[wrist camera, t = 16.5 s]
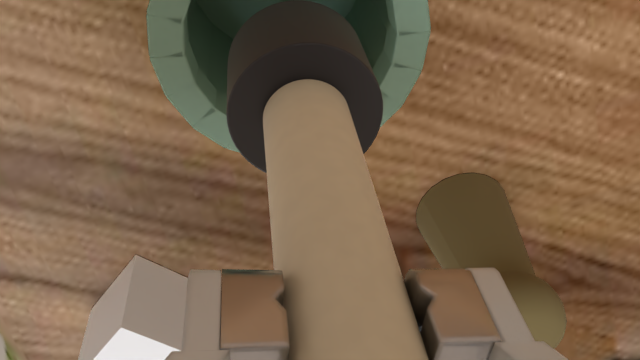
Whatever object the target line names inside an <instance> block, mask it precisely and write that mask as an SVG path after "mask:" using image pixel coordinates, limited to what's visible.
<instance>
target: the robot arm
mask: <svg viewBox="0 0 640 360" xmlns="http://www.w3.org/2000/svg"><path fill="white" fill-rule="evenodd" d="M404 283H405V286H406V290H407V293H408V296H409V299H410V302H411V305H412V309H413V312H414V315H415V318H416V321H417V324H418V327H419V331H420V334H421V337H422V340H423V343H424V346H425V349H426V353H427V356H428V359H429V360H568V359H567V358H565V357H564V356H563V355H561V354H560V353H559V352H557V351H556V350H555V349H553V348H552V347H551V346H549V345H548V344H547V343H545V342H544V341H535V340H534V338H533V336H532V334H531V332H530V330H529V328H528V327H527V325H526V323H525V321H524V319H523V317H522V315H521V313H520V311H519V309H518V307H517V305H516V303H515V301H514V300H513V298H512V296H511V294H510V292H509V290H508V288H507V286H506V284H505V282H504V280H503V278H502V276H501V275H500V273H499V271H498V270H496V269H495V268H466V269H463V268H448V269H409V271H408V272H407V274H406V276H405V280H404ZM284 288H285V287H284V278H283V272H282V270H231V269H222V287H221V270H195V269H190V272H189V275H188V282H187V293H186V305H185V316H184V327H183V338H182V350H181V351H172V352H171V353H170V354H169V355H168V356H167V357H166V358H165V360H288V357H289V347H290V345H289V333H288V321H287V310H286V309H285V308H284V307H283V300H284Z"/></svg>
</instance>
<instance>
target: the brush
mask: <svg viewBox="0 0 640 360" xmlns="http://www.w3.org/2000/svg"><path fill="white" fill-rule="evenodd" d="M226 115H227V125H228V130H229V133H230V136H231V138H232V141H233V142H234V144H235V146H236V148H237V149H238V150H239V152H240V153H241V154H242V155H243V156H244V157H245V158H246V159H247V160H248V161H249V162H250V163H251V164H252V165H254V166H255V167H257V168H258V169H260V170H262V171H263V172H266V173H267V183H268V197H269V210H270V223H271V236H272V249H273V262H274V270H282V272H283V278H284V287H285V288H284V300H283V307H284V308H285V309H286V310H287V321H288V333H289V345H290V347H289V357H288V360H429V359H428V356H427V353H426V349H425V346H424V343H423V340H422V337H421V334H420V331H419V327H418V324H417V321H416V318H415V315H414V312H413V309H412V305H411V302H410V299H409V296H408V293H407V290H406V286H405V283H404V280H403V277H402V274H401V271H400V268H399V264H398V261H397V258H396V255H395V252H394V249H393V246H392V242H391V239H390V236H389V233H388V230H387V227H386V224H385V220H384V217H383V214H382V211H381V208H380V205H379V202H378V198H377V195H376V192H375V189H374V186H373V183H372V180H371V176H370V173H369V170H368V167H367V164H366V161H365V158H364V153H365V152H366V151H367V150H368V148H369V147H370V146H371V144H372V143H373V141H374V139H375V138H376V136H377V133H378V131H379V128H380V125H381V121H382V116H383V99H382V93H381V90H380V87H379V84H378V82H377V79H376V77H375V75H374V72H373V70H372V68H371V65H370V63H369V61H368V58H367V56H366V54H365V51H364V49H363V47H362V44H361V42H360V40H359V38H358V36H357V34H356V32H355V30H354V29H353V27H352V26H351V25H350V23H349V22H348V21H347V20H346V19H345V18H344V17H343V16H341V15H340V14H339V13H338V12H336V11H334V10H333V9H331V8H329V7H327V6H324V5H322V4H319V3H315V2H312V1H304V0H291V1H284V2H280V3H276V4H273V5H270V6H268V7H265V8H264V9H262V10H260V11H258V12H257V13H255V14H254V15H253V16H252V17H250V18H249V19H248V20H247V21H246V22H245V23H244V24H243V25H242V27H241V28H240V29H239V31H238V32H237V34H236V36H235V37H234V39H233V42H232V44H231V47H230V50H229V55H228V64H227V109H226Z"/></svg>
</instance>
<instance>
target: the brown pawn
mask: <svg viewBox="0 0 640 360" xmlns="http://www.w3.org/2000/svg"><path fill="white" fill-rule="evenodd" d="M416 223H417V225H418V228H419V231H420V232H421V234H422V236H423V237H424V239H425V241H426V242H427V244H428V246H429V247H430V249H431V251H432V252H433V254H434V255H435V257H436V259H437V260H438V262H439V264H440V265H441V267H442V269H448V268H463V269H466V268H495V269H496V270H498V271H499V273H500V275H501V276H502V278H503V280H504V282H505V284H506V286H507V288H508V290H509V292H510V294H511V296H512V298H513V300H514V301H515V303H516V305H517V307H518V309H519V311H520V313H521V315H522V317H523V319H524V321H525V323H526V325H527V327H528V328H529V330H530V332H531V334H532V336H533V338H534V340H535V341H544V342H545V343H547V344H548V345H549V346H551V347H552V348H553V349H554V348H556V347H557V345H558V344H559V343H560V341H561V340H562V339H563V336H564V333H565V329H566V323H567V320H566V314H565V310H564V306H563V302H562V301H561V299H560V298H559V296H558V294H557V293H556V292H555V291H554V290H553V288H552V287H551V286H550V285H549V284H548V283H546V282H545V281H544V280H543V279H540V278H538V277H536V275H535V273H534V270H533V267H532V264H531V262H530V259H529V256H528V254H527V251H526V248H525V245H524V243H523V240H522V237H521V235H520V232H519V229H518V226H517V224H516V221H515V218H514V216H513V213H512V210H511V207H510V205H509V202H508V199H507V197H506V194H505V191H504V189H503V188H502V187H501V185H500V184H499V183H498V182H497V181H496V180H494V179H492V178H491V177H489V176H487V175H482V174H477V173H467V174H458V175H455V176H452V177H450V178H447V179H444V180H442V181H441V182H439V183H438V184H436V185H435V186H433V187H432V188H431V189H430V190H429V191H428V192H427V193H426V194H425V196H424V197H423V198H422V199H421V202H420V204H419V206H418V208H417V213H416Z"/></svg>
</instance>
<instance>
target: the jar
mask: <svg viewBox="0 0 640 360" xmlns="http://www.w3.org/2000/svg"><path fill="white" fill-rule="evenodd" d="M284 1H291V0H150V1H149V5H148V8H147V15H146V18H147V33H148V48H149V56H150V60H151V63H152V65H153V68H154V70H155V72H156V75H157V77H158V80H159V82H160V84H161V87H162V89H163V92H164V94H165V95H166V97H167V98H168V99H169V101H170V102H171V103H172V104H173V105H174V106H175V108H176V109H177V110H178V111H179V112H180V113H181V115H182V116H183V117H184V118H185V119H186V120H187V122H188V123H189V124H190V125H191V126H192V127H193V128H194V129H195V130H197V131H198V132H200V133H202V134H203V135H205V136H206V137H208V138H209V139H211V140H213V141H214V142H216V143H217V144H219V145H220V146H222V147H224V148H227V149H230V150H233V151H236V152H239V150H238V149H237V148H236V146H235V144H234V142H233V141H232V138H231V136H230V133H229V130H228V125H227V115H226V109H227V64H228V55H229V50H230V47H231V44H232V42H233V39H234V37H235V36H236V34H237V32H238V31H239V29H240V28H241V27H242V25H243V24H244V23H245V22H246V21H247V20H248V19H249V18H250V17H252V16H253V15H254V14H255V13H257V12H258V11H260V10H262V9H264V8H265V7H268V6H270V5H273V4H276V3H280V2H284ZM304 1H312V2H315V3H319V4H322V5H324V6H327V7H329V8H331V9H333V10H334V11H336V12H338V13H339V14H340V15H341V16H343V17H344V18H345V19H346V20H347V21H348V22H349V23H350V25H351V26H352V27H353V29H354V30H355V32H356V34H357V36H358V38H359V40H360V42H361V44H362V47H363V49H364V51H365V54H366V56H367V58H368V61H369V63H370V65H371V68H372V70H373V72H374V75H375V77H376V79H377V82H378V84H379V87H380V90H381V93H382V99H383V116H382V121H381V125H380V127H381V126H382V125H383V124H384V123H385V122H386V121H387V120H388V119H389V118H390V117H391V116H392V115H393V114H394V113H395V112H396V111H397V110H398V109H400V108H401V107H402V105H403V103H404V102H405V100H406V98H407V96H408V95H409V93H410V91H411V89H412V88H413V86H414V84H415V82H416V81H417V79H418V77H419V75H420V74H421V70H422V68H423V64H424V59H425V55H426V50H427V46H428V41H429V37H430V30H431V25H430V16H429V6H428V0H304Z"/></svg>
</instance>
